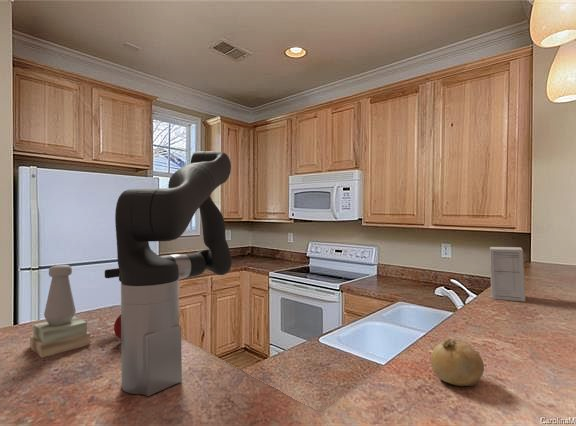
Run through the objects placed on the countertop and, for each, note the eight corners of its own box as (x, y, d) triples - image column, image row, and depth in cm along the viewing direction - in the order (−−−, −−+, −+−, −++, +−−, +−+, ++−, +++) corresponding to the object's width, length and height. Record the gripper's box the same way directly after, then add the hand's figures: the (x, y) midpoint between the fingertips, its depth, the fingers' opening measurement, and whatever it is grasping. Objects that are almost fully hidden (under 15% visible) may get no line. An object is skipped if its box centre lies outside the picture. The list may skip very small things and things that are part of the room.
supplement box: (523, 296, 112) (522, 247, 112) (526, 302, 104) (524, 249, 104) (490, 293, 117) (489, 246, 117) (490, 298, 109) (489, 248, 109)
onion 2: (438, 366, 60) (437, 327, 61) (488, 378, 55) (487, 336, 56) (425, 383, 54) (424, 340, 54) (479, 399, 49) (478, 351, 49)
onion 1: (130, 347, 71) (130, 311, 72) (107, 345, 73) (107, 309, 73) (147, 338, 77) (147, 304, 77) (126, 336, 78) (126, 303, 79)
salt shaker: (49, 329, 69) (49, 268, 70) (40, 324, 73) (40, 266, 73) (79, 322, 74) (79, 264, 74) (70, 318, 77) (69, 263, 78)
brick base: (90, 344, 74) (90, 322, 74) (41, 357, 67) (41, 333, 67) (75, 335, 80) (75, 315, 80) (29, 347, 73) (30, 324, 73)
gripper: (158, 253, 99) (100, 259, 87) (184, 256, 90) (124, 262, 78) (158, 278, 99) (100, 287, 86) (185, 283, 90) (124, 294, 77)
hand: (112, 275), depth 82 cm, fingers open, 8 cm apart
